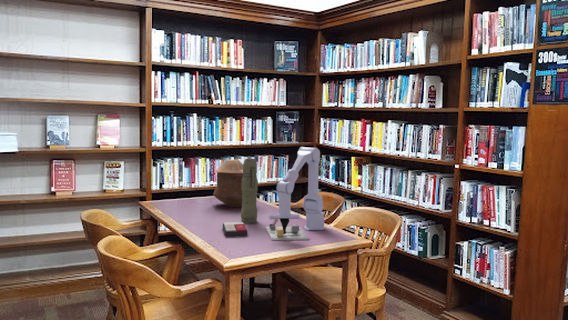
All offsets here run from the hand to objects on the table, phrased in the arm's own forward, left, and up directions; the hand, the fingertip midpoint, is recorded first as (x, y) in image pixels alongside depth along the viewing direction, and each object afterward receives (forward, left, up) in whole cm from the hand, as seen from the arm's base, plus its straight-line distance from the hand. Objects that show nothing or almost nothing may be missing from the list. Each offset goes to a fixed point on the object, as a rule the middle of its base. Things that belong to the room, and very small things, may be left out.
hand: (284, 233), depth 223 cm
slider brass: (+2, 0, -1) cm, 2 cm away
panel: (-3, -8, -2) cm, 9 cm away
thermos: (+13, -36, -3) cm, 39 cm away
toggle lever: (+3, -15, 0) cm, 15 cm away
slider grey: (-7, -7, -1) cm, 10 cm away
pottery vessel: (+19, -80, -3) cm, 82 cm away
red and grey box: (+23, -13, -3) cm, 27 cm away
